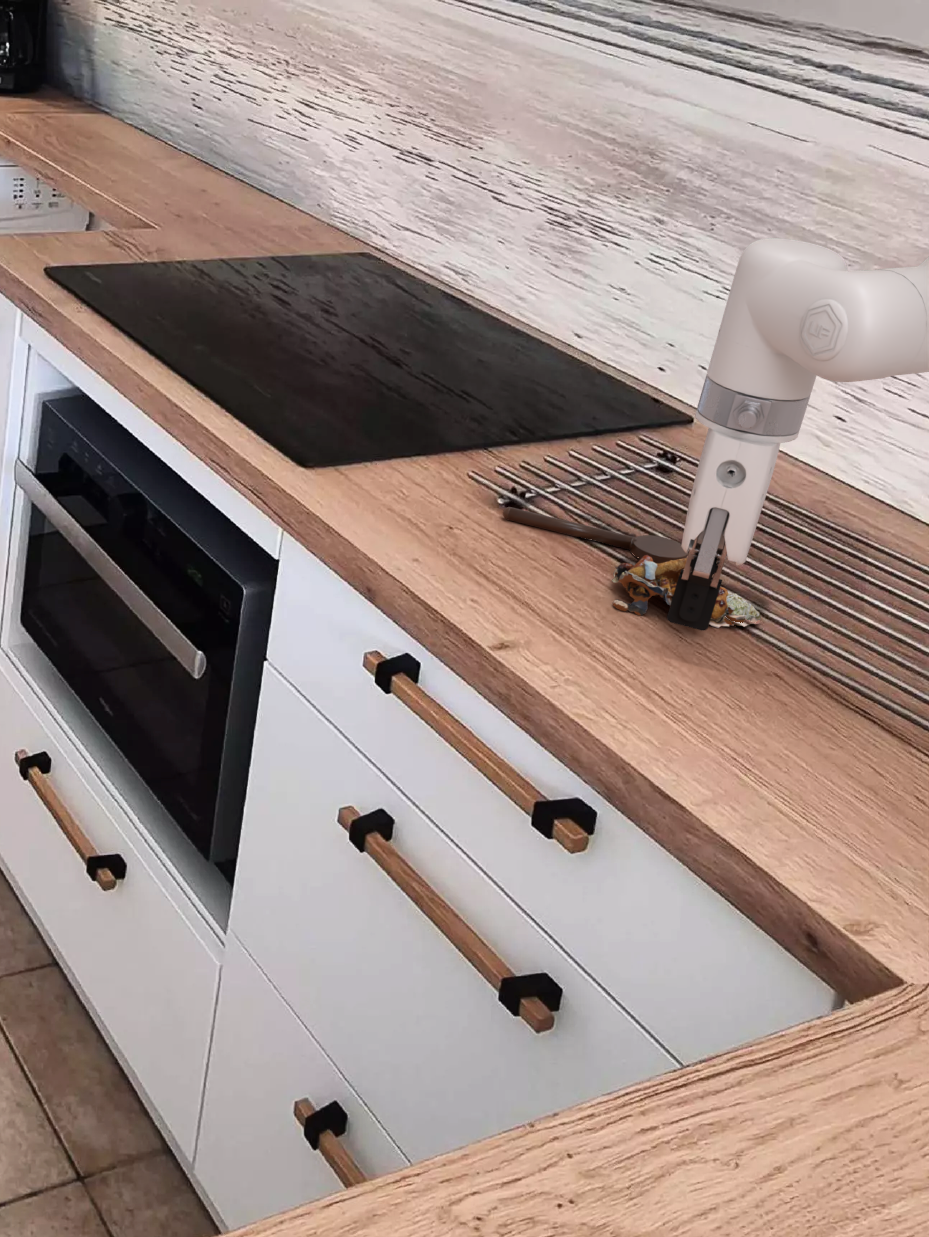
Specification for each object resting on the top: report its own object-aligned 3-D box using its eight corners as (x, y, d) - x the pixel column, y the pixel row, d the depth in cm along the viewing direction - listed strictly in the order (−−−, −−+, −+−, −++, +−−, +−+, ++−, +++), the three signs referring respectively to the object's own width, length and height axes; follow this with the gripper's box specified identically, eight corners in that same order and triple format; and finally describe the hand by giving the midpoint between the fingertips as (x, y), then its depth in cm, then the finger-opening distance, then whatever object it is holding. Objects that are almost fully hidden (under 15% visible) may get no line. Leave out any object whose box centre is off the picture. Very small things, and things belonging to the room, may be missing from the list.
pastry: (763, 637, 138) (775, 597, 136) (612, 610, 139) (623, 571, 138) (751, 601, 144) (763, 563, 142) (607, 576, 146) (617, 538, 144)
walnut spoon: (688, 553, 152) (691, 541, 151) (682, 572, 148) (685, 560, 147) (506, 509, 157) (509, 497, 157) (496, 526, 153) (498, 514, 153)
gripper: (796, 447, 120) (726, 672, 129) (809, 392, 133) (744, 601, 141) (688, 423, 123) (626, 645, 131) (710, 371, 135) (652, 578, 144)
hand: (687, 622), depth 136 cm, fingers closed
